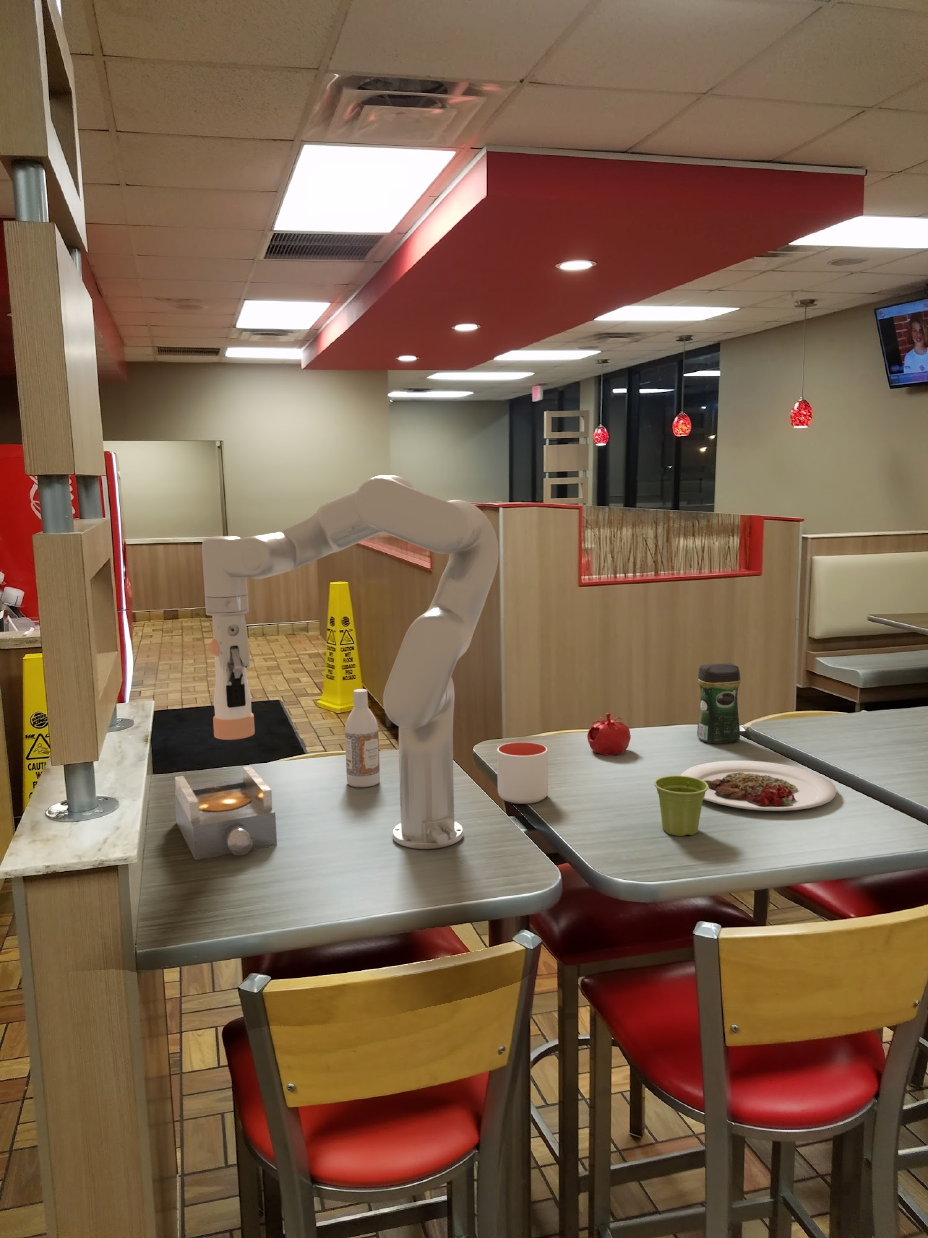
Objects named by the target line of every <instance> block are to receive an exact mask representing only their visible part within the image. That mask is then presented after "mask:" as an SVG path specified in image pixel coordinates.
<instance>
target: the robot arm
mask: <svg viewBox="0 0 928 1238" xmlns="http://www.w3.org/2000/svg"><path fill="white" fill-rule="evenodd" d="M383 533H384V534H386V535H389V536H391V537H394V538H396V539H399V540H402V541H404V542H407V543H409V544H411V545H413V546H417V547H419V548H421V549H424V550H426V551H430V552H432V553H436V554H442V555H448V556H449V557H448V559H447V561H448V562H447V563H446V566H445V569H444V570H443V572H442V575H441V577H440V579H439V581H438V586H437V589H436V590H435V591H436V592H435V593H434V596H433V598H432V600H431V603H430V605H429V607H428V608H427V611H425V612H424V613H423V614H421V615H420V616H418V617H417V618H415V619H414V621H413V622H412V623H411V624H410V626H409V627H408V629H407V631H406V633H405V635H404V637H403V640H402V642H401V645H400V647H399V650H398V652H397V655H396V658H395V660H394V662H393V663H394V664H393V666H392V668H391V671H390V673H389V676H388V679H387V681H386V684H385V686H384V690H383V695H382V705H383V708H384V713H385V714H386V716H387V718H388V719H389V720H390V721H391V722H392V723H393V724H395V726H397V727H398V768H399V769H398V771H399V772H398V773H399V800H400V801H399V802H400V823H399V824H397V825H395V827H394V828H393V829H392V839H393V840H394V842H395V843H397V844H398V845H400V846H403V847H406V848H411V849H417V850H418V849H419V850H428V849H429V850H431V849H433V850H434V849H440V848H445V847H449V846H451V845H454V844H456V843H458V842H460V841H461V840H462V838H463V837H464V828H463V826H462V825H461V824H460V823H459V822H457V821H455V789H454V787H455V786H454V785H455V783H454V743H453V742H454V734H453V733H454V713H455V712H454V710H455V684H454V680H453V678H452V675H453V672H454V670H455V667H456V665H457V662H458V661H459V659H460V658H461V657H462V656H464V654H465V653H466V652H467V651H468V649H469V647H470V645H471V643H472V639H473V635H474V633H475V630H476V628H477V624H478V622H479V620H480V617H481V614H482V612H483V609H484V607H485V603H486V600H487V597H488V594H489V592H490V589H491V587H492V584H493V581H494V579H495V575H496V573H497V568H498V563H499V556H500V555H499V553H500V552H499V541H498V536H497V533H496V531H495V528H494V527H493V524H492V523H491V521H490V520H489V518H488V517H487V515H486V514H485V513H484V511H482V510H481V509H480V508H479V507H477V505H475V504H473V503H471V502H469V501H467V500H463V499H452V500H451V499H450V500H444V499H443V498H440V497H436V496H435V495H434V496H433V495H431V494H428V493H425V492H422V491H420V490H418V489H416V488H415V487H414V485H413V484H412V482H410V481H409V480H408V479H406V478H404V477H402V476H398V475H377V476H373V477H371V478H369V479H366V480H365V481H364V482H363V483H362V484H361V485H360V486H359V487H358V488H357V489H355V490H353V491H351V492H348V493H345V494H344V495H341V496H339V497H336V498H334V499H331V500H329V501H326V502H325V503H323V504H321V505H320V506H319V507H318V509H317V510H316V513H314V514H313V515H311V516H310V517H308V518H307V519H305V520H303V521H300V522H298V523H296V524H294V525H291V526H289V527H288V526H287V527H286V528H284V529H281V530H280V531H277V532H273V533H272V532H271V533H265V534H260V535H253V536H245V537H242V538H241V537H239V536H234V535H226V536H225V535H221V536H220V535H219V536H211V537H206V538H205V539H203V541H202V543H201V556H202V557H201V559H202V572H203V574H202V575H203V588H204V602H205V603H204V605H205V606H204V607H205V615H206V616H210V617H212V638H213V639H215V640H216V641H217V644H218V648H219V656H218V657H219V662H220V665H221V668H222V669H224V670H226V676H227V683H228V685H226V695H227V706H228V707H229V708H231V707H240V706H245V705H246V700H245V684H244V678H243V670H242V665H243V666H244V667H245V668H246V669H248V668H250V666H251V660H250V648H249V647H250V645H249V646H248V643H249V638H248V629H247V622H246V617H245V614H248V613H250V611H249V592H248V579H254V580H261V579H266V578H269V577H273V576H277V575H282V574H285V573H288V572H290V571H293V570H295V569H298V568H300V567H303V566H305V565H307V564H310V563H312V562H315V561H317V560H319V559H321V558H323V557H326V556H328V555H331V554H334V553H338V552H341V551H343V550H345V549H347V548H349V547H352V546H354V545H357V544H359V543H361V542H363V541H366V540H368V539H370V538H373V537H375V536H378V535H380V534H383ZM213 639H212V640H213ZM230 654H231V656H230ZM241 661H242V663H241ZM231 665H233V667H232V668H229V667H228V666H231ZM230 672H232V673H231V676H230Z"/></svg>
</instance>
